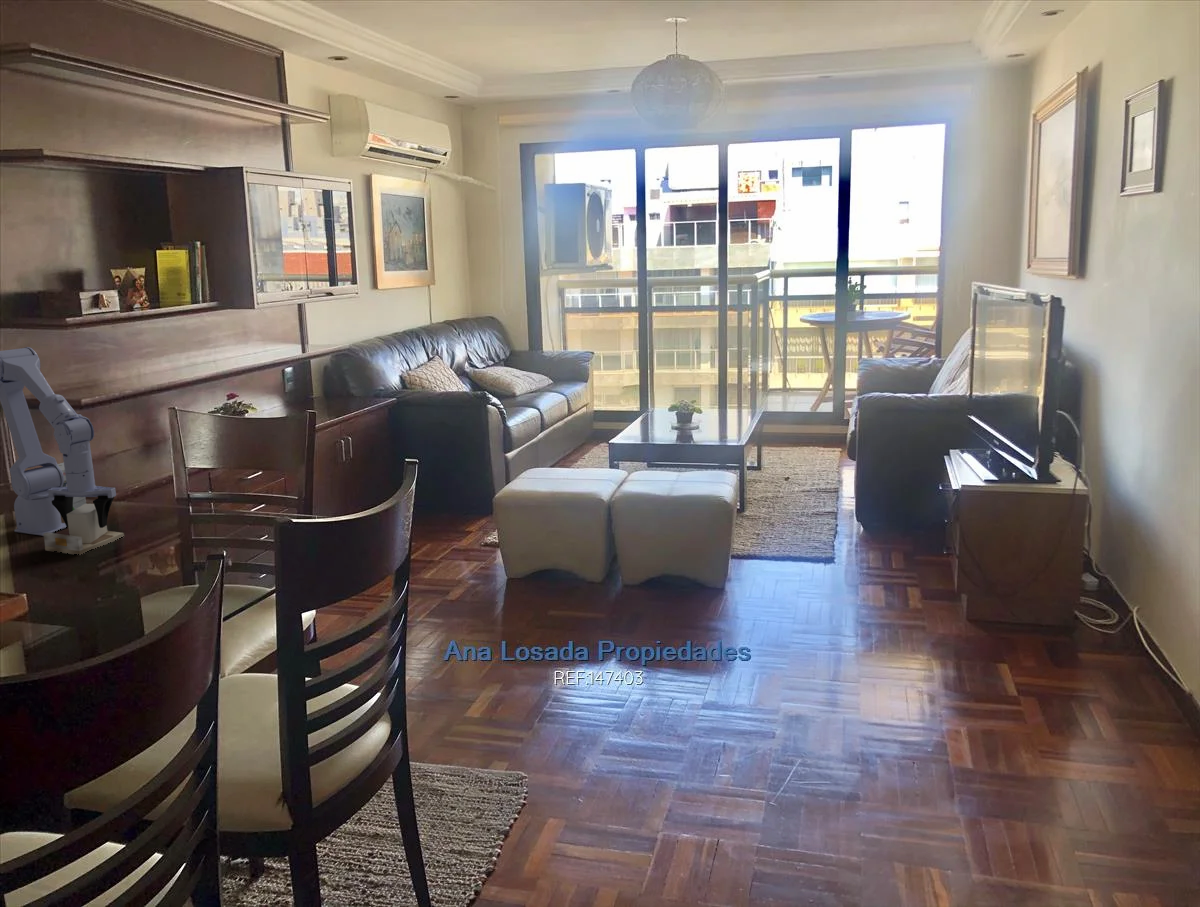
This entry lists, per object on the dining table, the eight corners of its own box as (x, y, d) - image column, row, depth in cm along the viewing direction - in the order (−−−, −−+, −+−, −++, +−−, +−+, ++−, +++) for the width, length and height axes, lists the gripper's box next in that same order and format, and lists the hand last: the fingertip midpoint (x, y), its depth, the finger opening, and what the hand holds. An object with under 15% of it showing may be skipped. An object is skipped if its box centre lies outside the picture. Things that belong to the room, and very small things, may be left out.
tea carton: (69, 543, 217) (65, 514, 215) (87, 531, 225) (83, 503, 223) (90, 543, 217) (86, 514, 215) (107, 531, 225) (103, 503, 223)
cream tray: (45, 550, 215) (42, 533, 214) (91, 532, 227) (88, 516, 226) (79, 555, 212) (77, 538, 211) (124, 536, 224) (122, 521, 223)
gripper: (119, 465, 220) (126, 520, 224) (57, 465, 220) (64, 520, 224) (104, 474, 213) (111, 530, 217) (40, 473, 213) (48, 530, 217)
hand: (86, 526), depth 220 cm, fingers open, 7 cm apart
